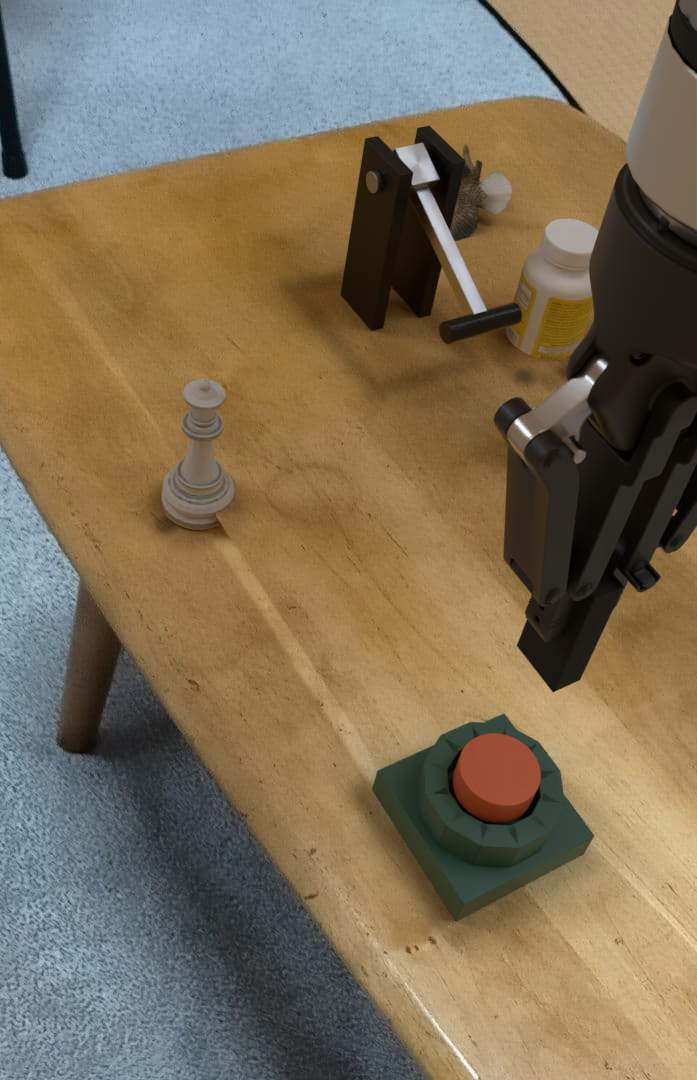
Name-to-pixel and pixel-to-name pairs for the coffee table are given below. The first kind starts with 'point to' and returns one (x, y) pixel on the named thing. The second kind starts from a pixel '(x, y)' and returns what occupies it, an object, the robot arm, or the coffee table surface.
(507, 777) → the button
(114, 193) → the coffee table surface
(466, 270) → the press lever
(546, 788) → the button base
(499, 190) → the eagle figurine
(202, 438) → the chess piece
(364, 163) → the press bracket
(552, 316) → the supplement bottle
